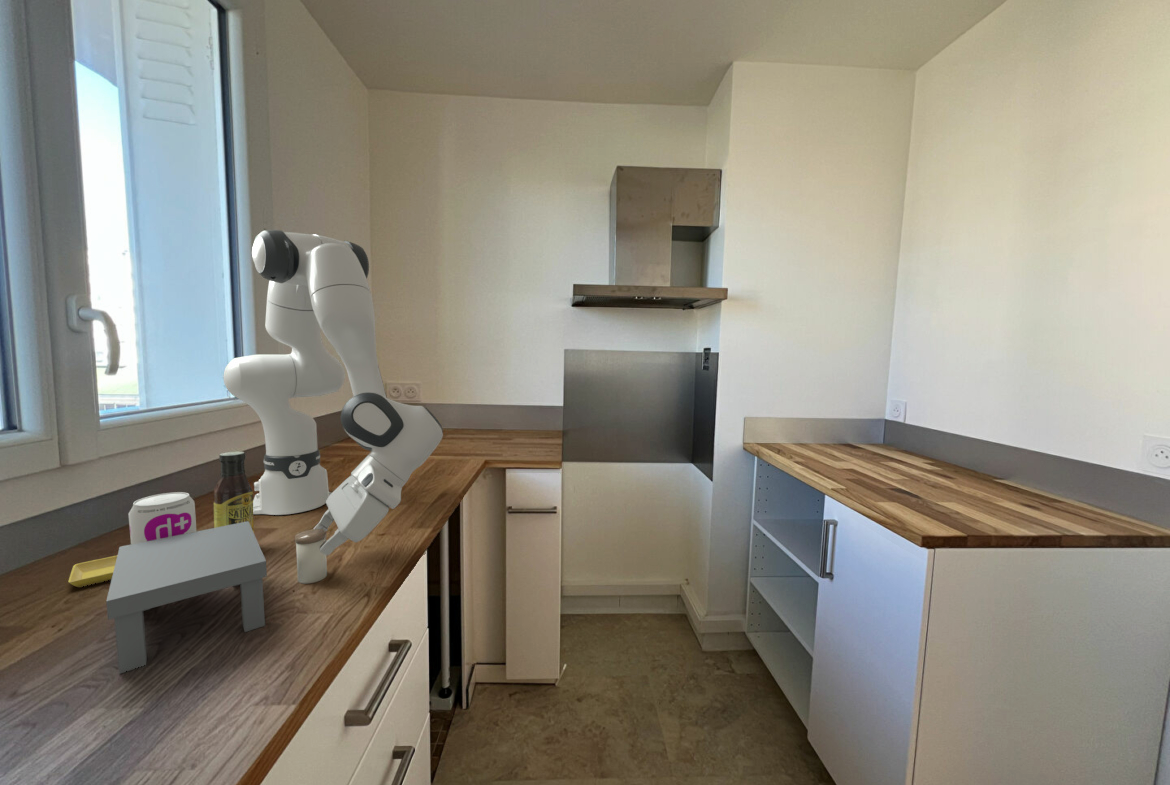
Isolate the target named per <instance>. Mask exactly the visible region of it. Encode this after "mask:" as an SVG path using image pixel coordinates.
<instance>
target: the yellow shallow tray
mask: <svg viewBox="0 0 1170 785" xmlns="http://www.w3.org/2000/svg"><path fill="white" fill-rule="evenodd" d="M117 555H118V554H117ZM117 555H113V556H108V557H103V558H99V559H93V560H88V561H83V562H79V563H76V564H74V565H73V566H72V569H71V572H70V574H69V578H68V583H69V584H70V585H72V586H74V587H76V588H82V587H83V586H84V587H88V586H91V584H92V585H95V583H96V584H100V583H105V582H108V580H109V581H111V580H112V576H113V572H114V568H115V564H116V559H117ZM104 581H105V582H104ZM87 585H88V586H87Z"/></svg>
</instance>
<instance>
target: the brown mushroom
mask: <svg viewBox="0 0 1170 785" xmlns="http://www.w3.org/2000/svg"><path fill="white" fill-rule="evenodd" d="M326 537H327V531H325V530H323V529H308V530H307V529H306V530H302V531H300V532H299V533H296V534H295V536H294V542H295V548H296V550H295V551H296V552H295V553H296V572H297V582H298V583H299V584H305V585H307V584H313V583H317V582H319V581H322V580H324V579H325V578H326V577H327V576H328V566H327V565H328V564H327V560H328V559H327V555H324V554H323V553H321V551H320V548H319V547H320V546H321V545H322V544H323V542H324V541H325V540H327V539H326Z"/></svg>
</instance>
